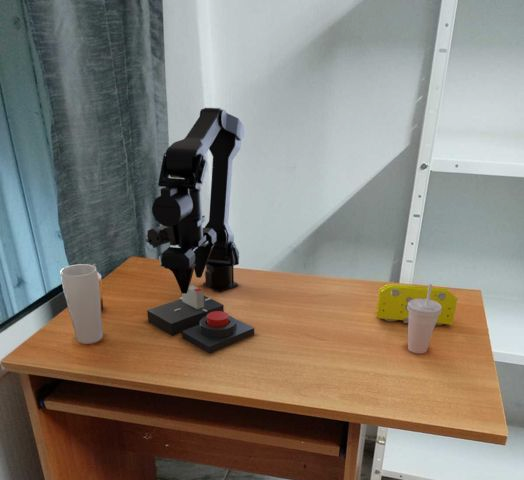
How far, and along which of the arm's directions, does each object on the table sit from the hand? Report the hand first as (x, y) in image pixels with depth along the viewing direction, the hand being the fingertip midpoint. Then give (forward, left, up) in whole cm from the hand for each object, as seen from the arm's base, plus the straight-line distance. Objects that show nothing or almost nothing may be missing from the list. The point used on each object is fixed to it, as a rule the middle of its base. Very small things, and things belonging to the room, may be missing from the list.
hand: (191, 285), depth 116 cm
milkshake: (+14, -18, -8) cm, 24 cm away
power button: (+2, +11, -4) cm, 12 cm away
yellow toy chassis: (-35, +34, -8) cm, 49 cm away
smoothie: (-24, +42, -8) cm, 49 cm away
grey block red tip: (0, 0, -5) cm, 5 cm away
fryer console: (+2, 0, -8) cm, 8 cm away
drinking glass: (+22, -6, -8) cm, 24 cm away
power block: (+2, +11, -8) cm, 14 cm away
